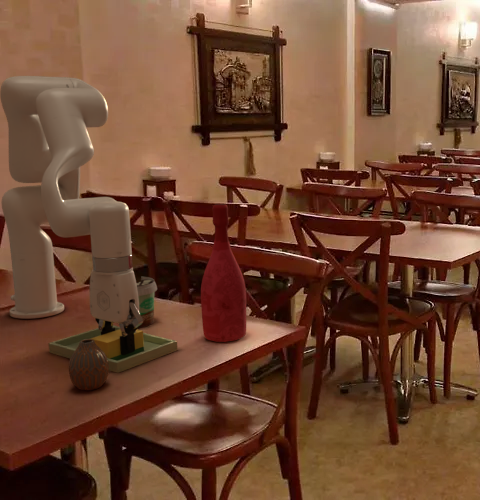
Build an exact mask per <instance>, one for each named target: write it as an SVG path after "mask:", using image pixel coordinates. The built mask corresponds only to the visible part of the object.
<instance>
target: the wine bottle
mask: <svg viewBox="0 0 480 500" xmlns="http://www.w3.org/2000/svg"><path fill="white" fill-rule="evenodd" d="M229 223H230V219H229V207H228V205H227V204H226V203H215V204H214V205H212V225H213V226H214V240H213V246H212V250H211V253H210V257H209V259H208V261H207V264H206V267H205V269H204V273H203V275H202V280H201V283H200V284H201V285H200V286H201V287H200V307H201V322H202V333H203V336H204V338H205V339H207V340H209V341H211V342H215V343H229V342H234V341H237V340H241V339H242V338H243V337H245V335H246V333H247V290H246V289H247V288H246V282H245V277H244V276H243V273H242V270H241V268H240V266H239V263H238V262H237V260H236V258H235V255H234V254H233V251H232V248H231V242H230V241H229V231H228V225H229Z"/></svg>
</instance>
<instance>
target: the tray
mask: <svg viewBox="0 0 480 500" xmlns="http://www.w3.org/2000/svg"><path fill="white" fill-rule="evenodd" d="M113 327H114V328H115V331H116V330H119V329H120V326H118V325H114V324H113ZM113 327H112V328H113ZM100 335H101V331H100V330H99V328H98V327H96V328H94V329H90V330H87V331H83V332H80V333H77V334H74V335H71V336H67V337H64V338H61V339H57V340H54V341H50V342H48V353H50V354H52V355H57V356H59V357H63V358H66V359H69V360H70V358H71V356H72V354H73V353H74V351H75V350H76V349H77V347H78V345H79V343H80V341H81V340H84V339H91V338H94V337H97V336H100ZM143 340H144V351H143V352H140V353H137V354H134V355H132V356H129V357H126V358H123V359H121V360H118V361H116V360H112V359H109V358H107V359H108V363H109V372H113V373H116V374H119V373H122V372H124V371H127V370H129V369H133V368H134V367H135V368H136V367H137V366H140V365H142V364H145V363H148V362H151V361H153V360H156V359H159V358H161V357H165V356H166V355H170V354H171V353H174V352H177V351H178V350H179V349H178V340H175V339H170V338H166V337H162V336H158V335H154V334H150V333H148V332H147V333H146V332H143Z"/></svg>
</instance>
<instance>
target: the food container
mask: <svg viewBox="0 0 480 500" xmlns="http://www.w3.org/2000/svg"><path fill="white" fill-rule="evenodd" d="M140 277H141V278H140V280H139V281H136V285H137V291H138V299H139V313H140V315H141V317H142V319H143V323H142V324H141V325H140V326H139V327H138V329H140V328H145V327H148V326H151V325H153V323H154V322H155V292H157V290H158V286H157V283H156V281H155V279H153V278H152V277H149V276H140ZM127 319H128V317H127ZM125 325H126V327H127V326H128V325H129V324H128V322H127V323H125Z"/></svg>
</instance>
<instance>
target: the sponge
mask: <svg viewBox="0 0 480 500" xmlns="http://www.w3.org/2000/svg"><path fill="white" fill-rule="evenodd" d="M126 328H127V327H126ZM143 333H144V331H143V330H141V329H137V330H136V333H134V339H135V351H134V352H132V353H129V354H126V355H121V348H120V336H122V334H121V330H120V329H119V330H116V331H113V332H110V333H107V334H103V335H100V336H97V337H94V338H91V339H93V340H94V342H95V343H96V345H97V346H98V347H99V348H100V349H101V350H102V351H103V352H104V353H105V355H106V357H107V358H109V359H112V360H116V361H118V360H121V359H123V358H126V357H129V356H132V355H134V354H137V353H140V352H143V351H144V340H143Z"/></svg>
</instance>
